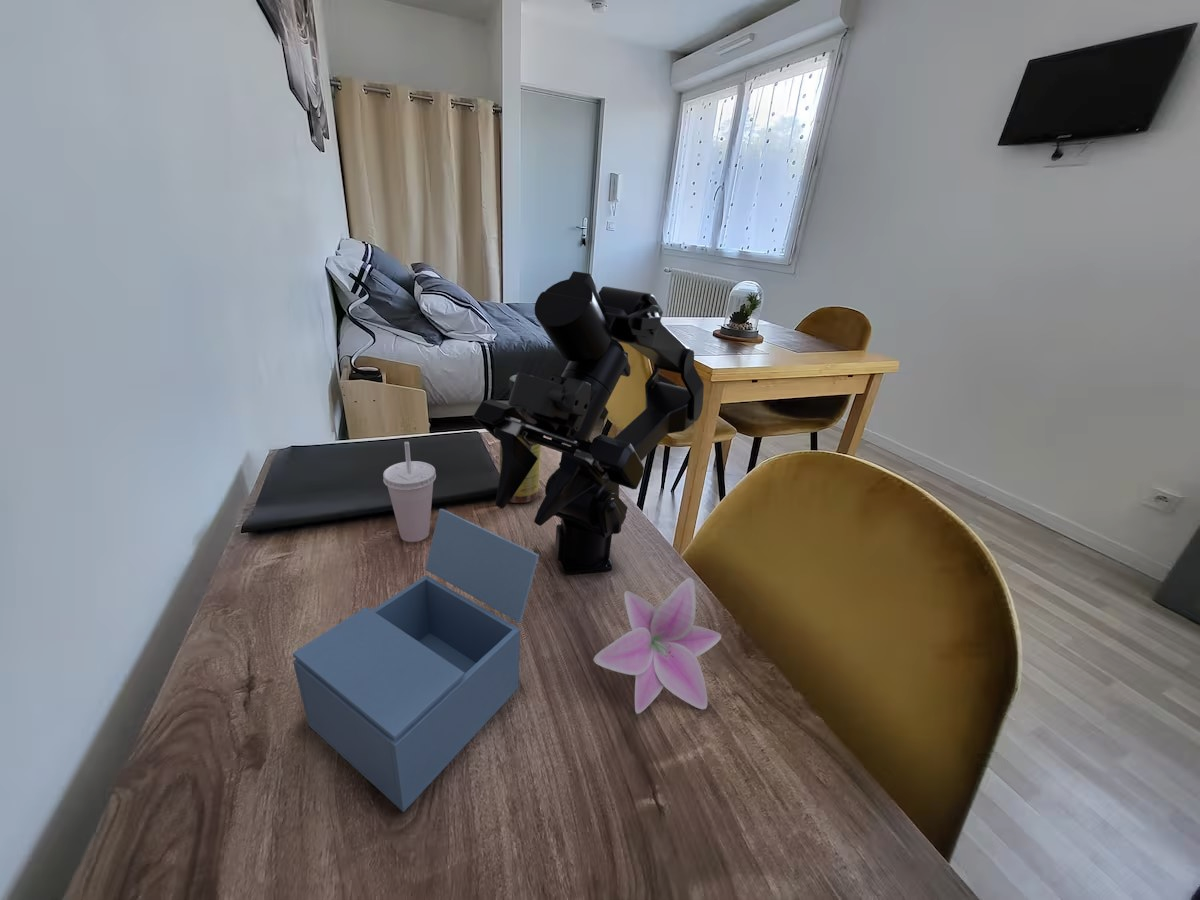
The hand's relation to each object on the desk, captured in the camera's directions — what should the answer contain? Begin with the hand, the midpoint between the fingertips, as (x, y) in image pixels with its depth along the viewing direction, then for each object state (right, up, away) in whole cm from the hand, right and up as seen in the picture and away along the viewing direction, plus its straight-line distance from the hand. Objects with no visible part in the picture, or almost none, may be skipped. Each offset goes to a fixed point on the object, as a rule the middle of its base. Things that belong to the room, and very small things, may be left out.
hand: (517, 515), depth 48 cm
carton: (-8, -16, -5) cm, 19 cm away
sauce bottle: (-5, -1, +30) cm, 30 cm away
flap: (-3, -4, -4) cm, 6 cm away
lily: (+14, -17, 0) cm, 21 cm away
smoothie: (-17, -5, +18) cm, 26 cm away
